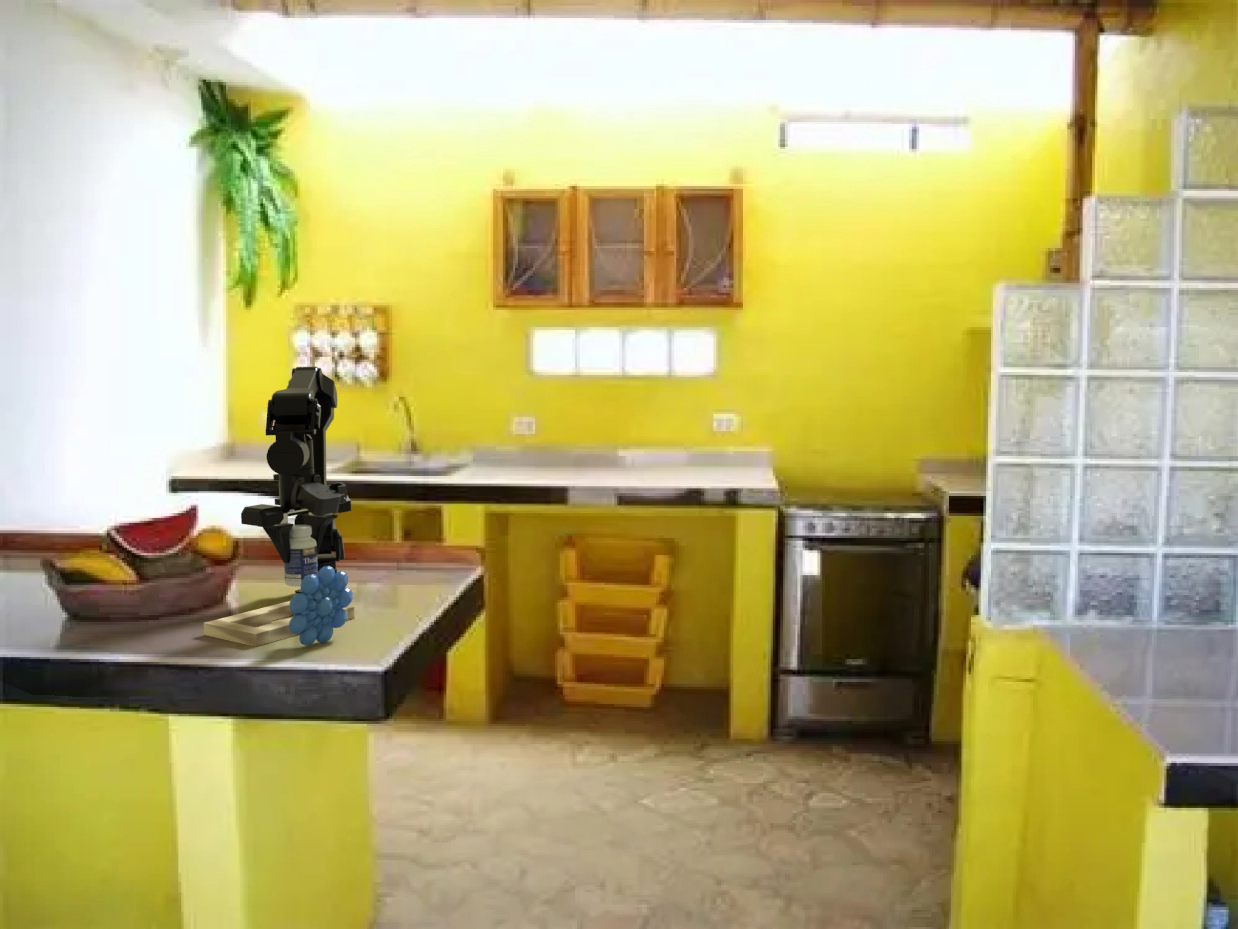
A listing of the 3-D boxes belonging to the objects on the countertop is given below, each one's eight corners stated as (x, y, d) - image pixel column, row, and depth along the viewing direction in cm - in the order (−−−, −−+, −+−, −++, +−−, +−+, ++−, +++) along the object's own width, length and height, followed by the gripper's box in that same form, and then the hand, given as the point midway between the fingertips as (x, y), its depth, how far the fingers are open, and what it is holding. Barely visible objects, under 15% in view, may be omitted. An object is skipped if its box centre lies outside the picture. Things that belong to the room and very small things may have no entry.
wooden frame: (303, 608, 188) (303, 597, 187) (354, 618, 180) (354, 606, 180) (204, 635, 171) (203, 622, 171) (256, 646, 164) (255, 634, 164)
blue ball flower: (336, 630, 173) (333, 558, 171) (363, 637, 169) (360, 562, 167) (274, 647, 164) (270, 570, 162) (300, 654, 159) (297, 575, 158)
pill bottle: (308, 588, 176) (306, 530, 175) (279, 586, 177) (276, 529, 176) (324, 580, 181) (321, 524, 180) (295, 579, 182) (292, 523, 181)
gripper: (282, 477, 164) (287, 576, 166) (372, 464, 180) (375, 555, 182) (236, 472, 171) (241, 568, 172) (327, 461, 186) (331, 548, 188)
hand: (300, 560), depth 178 cm, fingers closed on pill bottle, 5 cm apart
